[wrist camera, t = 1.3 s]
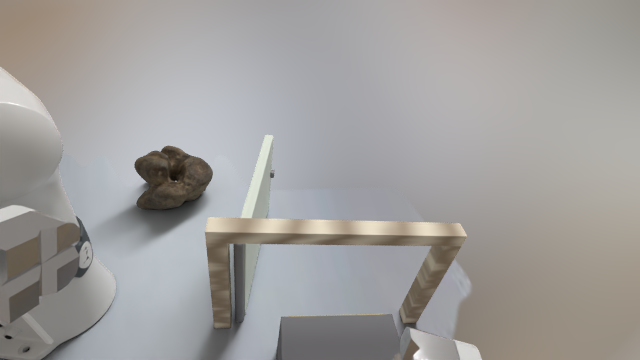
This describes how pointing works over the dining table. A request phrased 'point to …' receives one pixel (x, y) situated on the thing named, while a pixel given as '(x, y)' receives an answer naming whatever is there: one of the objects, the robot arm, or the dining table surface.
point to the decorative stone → (171, 178)
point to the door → (252, 208)
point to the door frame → (331, 232)
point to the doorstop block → (338, 337)
